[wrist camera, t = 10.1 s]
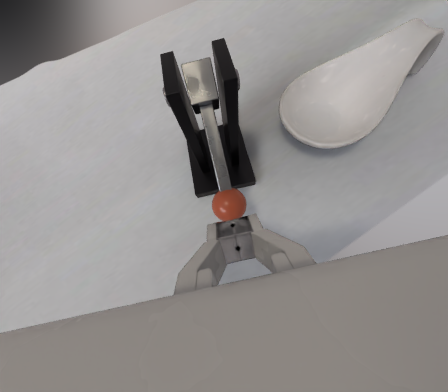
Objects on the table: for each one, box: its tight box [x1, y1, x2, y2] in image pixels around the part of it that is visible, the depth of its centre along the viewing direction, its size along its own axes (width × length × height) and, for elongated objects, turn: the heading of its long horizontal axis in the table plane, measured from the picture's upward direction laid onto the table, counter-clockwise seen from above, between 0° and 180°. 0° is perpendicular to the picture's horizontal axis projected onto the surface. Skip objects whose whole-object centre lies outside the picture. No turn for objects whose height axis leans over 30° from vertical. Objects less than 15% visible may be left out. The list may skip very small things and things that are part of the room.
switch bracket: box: [160, 38, 256, 198], centre depth 17 cm, size 10×8×13 cm
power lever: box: [181, 57, 246, 221], centre depth 14 cm, size 13×3×3 cm, turn 10°
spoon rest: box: [279, 19, 444, 149], centre depth 21 cm, size 24×12×7 cm, turn 126°
